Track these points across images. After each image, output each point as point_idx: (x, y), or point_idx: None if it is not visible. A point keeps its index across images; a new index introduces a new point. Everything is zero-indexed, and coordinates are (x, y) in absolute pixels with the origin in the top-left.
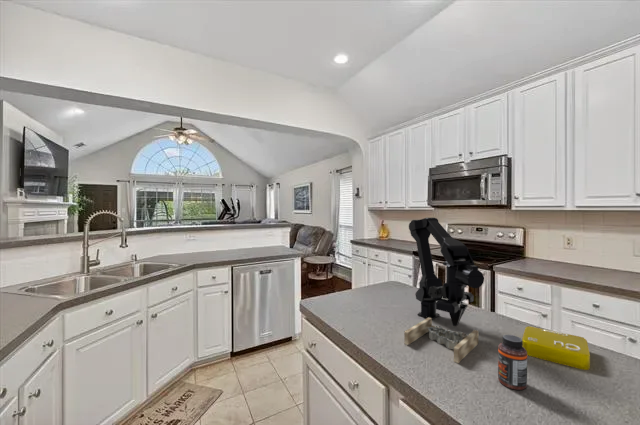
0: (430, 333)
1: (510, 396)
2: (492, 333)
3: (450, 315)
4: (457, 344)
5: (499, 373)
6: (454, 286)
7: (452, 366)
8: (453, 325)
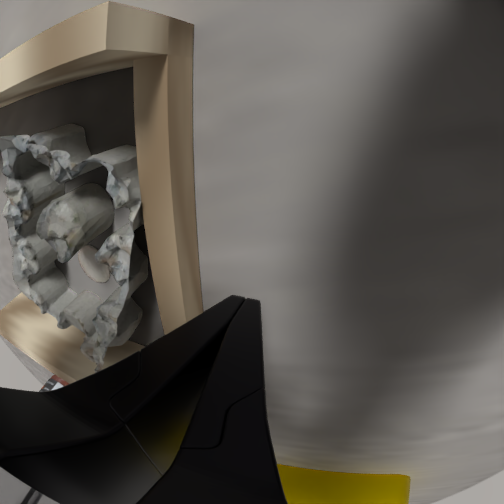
0: (21, 164)
1: (46, 375)
2: (408, 424)
3: (125, 365)
4: (5, 331)
5: (43, 386)
6: None
7: (11, 289)
8: (231, 298)
